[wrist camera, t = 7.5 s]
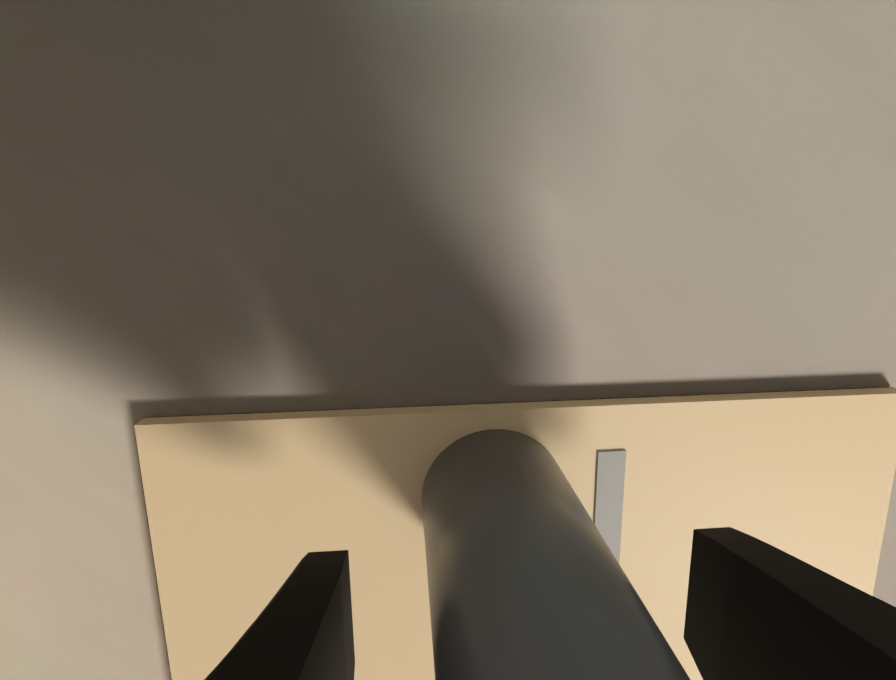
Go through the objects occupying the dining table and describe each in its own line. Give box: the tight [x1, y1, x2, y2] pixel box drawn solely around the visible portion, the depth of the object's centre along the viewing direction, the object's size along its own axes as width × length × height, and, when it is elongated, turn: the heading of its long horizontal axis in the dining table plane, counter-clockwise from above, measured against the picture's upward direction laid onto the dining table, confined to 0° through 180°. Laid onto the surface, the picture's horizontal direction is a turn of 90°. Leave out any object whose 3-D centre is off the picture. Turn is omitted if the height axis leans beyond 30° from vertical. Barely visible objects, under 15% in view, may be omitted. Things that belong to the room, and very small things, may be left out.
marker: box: [422, 429, 690, 680], centre depth 8 cm, size 3×3×8 cm
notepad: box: [134, 387, 896, 680], centre depth 13 cm, size 12×16×1 cm
